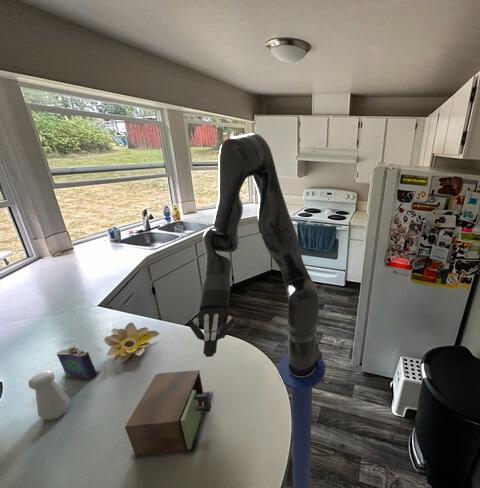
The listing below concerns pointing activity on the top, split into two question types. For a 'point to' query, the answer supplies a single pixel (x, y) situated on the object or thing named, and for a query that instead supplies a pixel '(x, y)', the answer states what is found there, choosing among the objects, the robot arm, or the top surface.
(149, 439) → the cabinet
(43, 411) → the salt shaker
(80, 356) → the flask
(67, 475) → the top surface
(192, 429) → the sliding door
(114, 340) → the decorative flower
